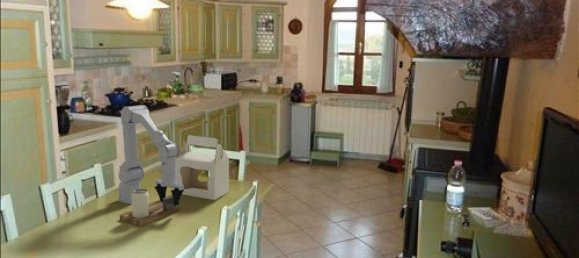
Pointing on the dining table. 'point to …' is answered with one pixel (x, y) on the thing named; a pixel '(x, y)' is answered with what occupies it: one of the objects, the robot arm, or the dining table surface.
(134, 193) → the can
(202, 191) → the gable box
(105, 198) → the dining table surface
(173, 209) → the tan channel tray
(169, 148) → the robot arm
